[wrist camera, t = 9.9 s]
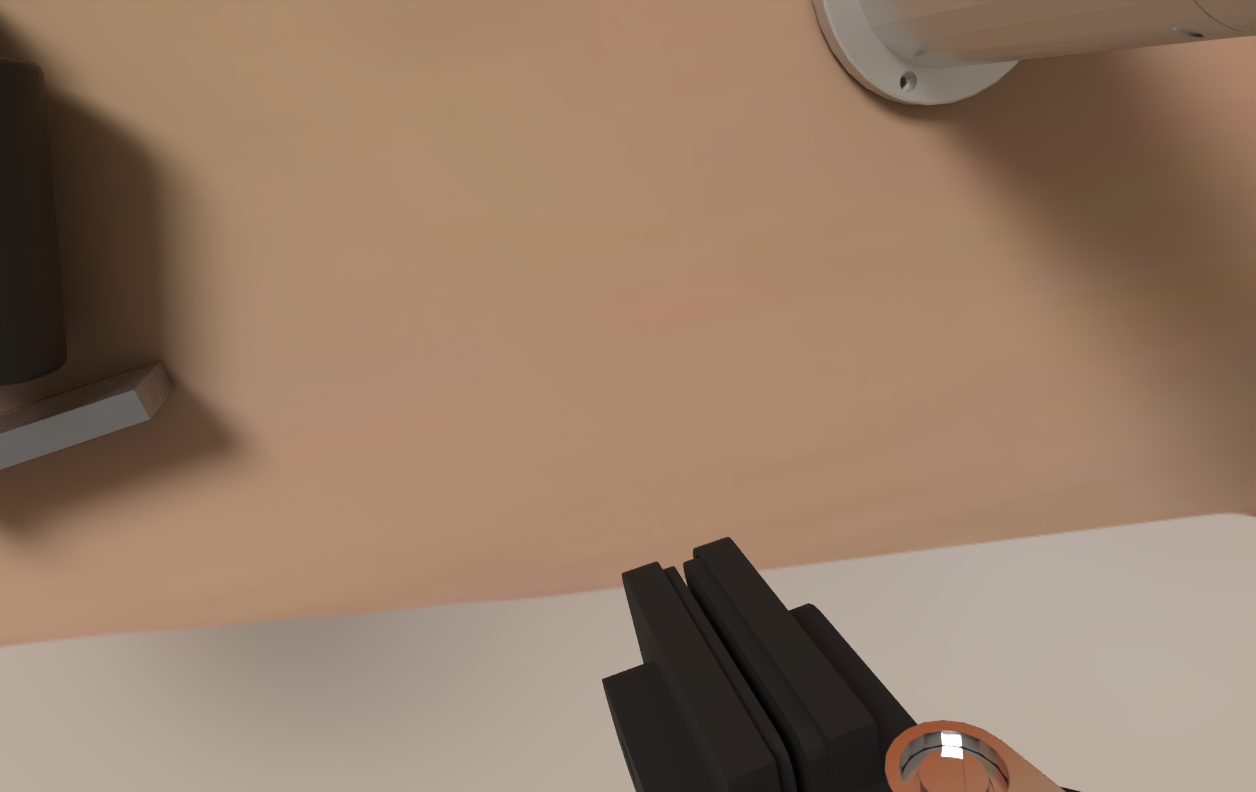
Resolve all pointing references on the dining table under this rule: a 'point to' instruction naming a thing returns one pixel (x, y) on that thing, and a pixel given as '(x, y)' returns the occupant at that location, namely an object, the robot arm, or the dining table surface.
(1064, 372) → the dining table surface
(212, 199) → the dining table surface
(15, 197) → the end cap
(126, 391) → the steel cradle
